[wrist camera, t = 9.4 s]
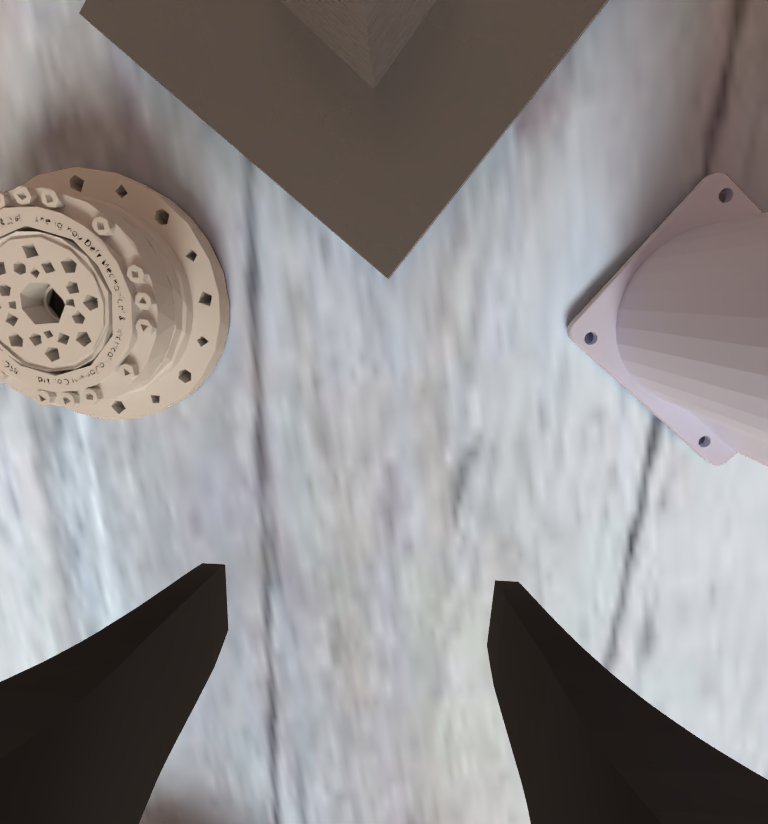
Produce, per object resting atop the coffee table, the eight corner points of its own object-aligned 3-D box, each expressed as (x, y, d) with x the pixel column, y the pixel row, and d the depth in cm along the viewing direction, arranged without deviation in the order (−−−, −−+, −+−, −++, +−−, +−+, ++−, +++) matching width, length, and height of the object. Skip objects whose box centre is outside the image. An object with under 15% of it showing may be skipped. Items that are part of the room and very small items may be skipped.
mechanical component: (217, 171, 18) (-20, 181, 18) (161, 133, 14) (-146, 147, 14) (244, 409, 21) (35, 413, 21) (203, 439, 16) (-58, 443, 17)
